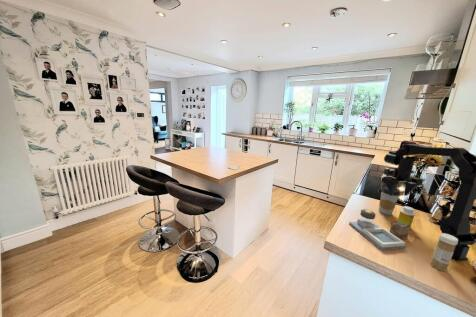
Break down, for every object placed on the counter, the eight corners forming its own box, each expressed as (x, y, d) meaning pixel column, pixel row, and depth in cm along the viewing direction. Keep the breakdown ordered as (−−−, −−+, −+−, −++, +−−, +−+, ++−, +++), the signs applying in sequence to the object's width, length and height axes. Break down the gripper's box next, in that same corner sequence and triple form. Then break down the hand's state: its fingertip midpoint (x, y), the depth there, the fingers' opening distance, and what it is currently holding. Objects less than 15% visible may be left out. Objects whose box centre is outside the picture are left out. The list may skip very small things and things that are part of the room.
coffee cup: (394, 212, 113) (401, 189, 109) (393, 217, 107) (400, 193, 103) (377, 207, 118) (383, 185, 115) (375, 212, 112) (381, 188, 109)
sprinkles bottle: (445, 266, 73) (457, 236, 70) (447, 273, 70) (460, 242, 66) (429, 260, 76) (439, 231, 73) (430, 267, 73) (441, 236, 69)
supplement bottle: (408, 229, 96) (413, 211, 94) (395, 224, 101) (400, 206, 98) (412, 226, 99) (417, 209, 97) (399, 221, 104) (403, 204, 101)
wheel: (377, 219, 92) (378, 214, 92) (366, 219, 92) (367, 215, 91) (367, 212, 98) (368, 208, 98) (357, 213, 97) (358, 208, 97)
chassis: (404, 248, 82) (407, 240, 82) (380, 249, 81) (382, 242, 80) (369, 223, 101) (371, 216, 100) (349, 224, 99) (350, 217, 98)
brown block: (407, 238, 89) (410, 227, 88) (399, 238, 89) (402, 227, 87) (397, 231, 94) (400, 221, 93) (389, 232, 94) (392, 221, 92)
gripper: (405, 163, 108) (398, 189, 111) (376, 163, 105) (370, 189, 109) (426, 169, 97) (418, 197, 101) (395, 169, 94) (387, 198, 98)
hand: (397, 195), depth 102 cm, fingers open, 9 cm apart
